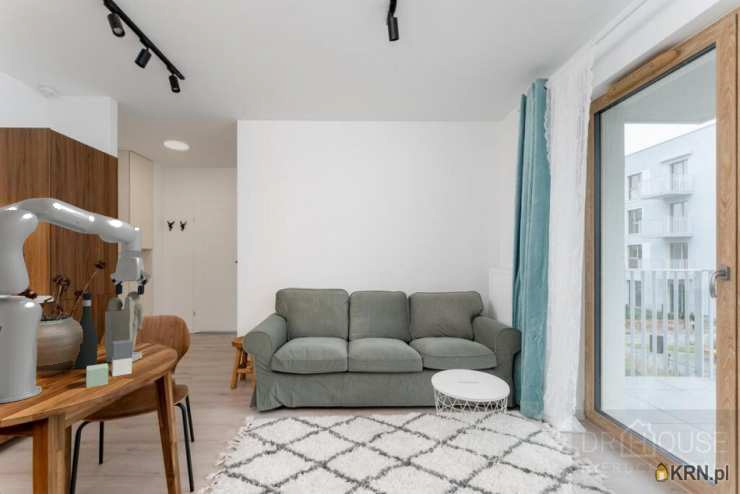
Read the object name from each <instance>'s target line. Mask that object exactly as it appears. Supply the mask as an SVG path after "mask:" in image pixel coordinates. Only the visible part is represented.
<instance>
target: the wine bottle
mask: <svg viewBox="0 0 740 494" xmlns="http://www.w3.org/2000/svg"><path fill="white" fill-rule="evenodd" d="M81 295H82V313H81V318H80V322H79V323H78V325H79V324H80V325H81V326H82V329H83V344H82V343H81V344H80V352H79V354H78V356H77V359H76V361H75V363H74V365H73V366H72V368H73V369H76V370H79V369H87V366H92V365H98V341H99V339H98V331H97V328H96V326H95V324H94V321H93V319H92V316H91V313H92V311H91V310H92V309H91V308H92V306H91V305H92V292H83V293H82V294H81Z"/></svg>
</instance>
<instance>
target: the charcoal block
mask: <svg viewBox="0 0 740 494" xmlns="http://www.w3.org/2000/svg"><path fill="white" fill-rule="evenodd" d="M132 345H133V342H132V341H131V339H130V340H121V341H113V342H112V358H113V360H120V359H127V358H132Z"/></svg>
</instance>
